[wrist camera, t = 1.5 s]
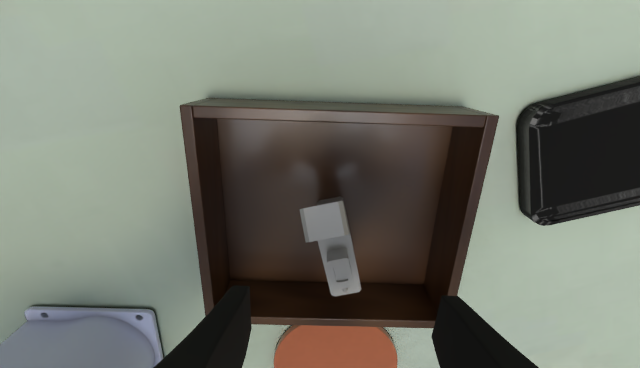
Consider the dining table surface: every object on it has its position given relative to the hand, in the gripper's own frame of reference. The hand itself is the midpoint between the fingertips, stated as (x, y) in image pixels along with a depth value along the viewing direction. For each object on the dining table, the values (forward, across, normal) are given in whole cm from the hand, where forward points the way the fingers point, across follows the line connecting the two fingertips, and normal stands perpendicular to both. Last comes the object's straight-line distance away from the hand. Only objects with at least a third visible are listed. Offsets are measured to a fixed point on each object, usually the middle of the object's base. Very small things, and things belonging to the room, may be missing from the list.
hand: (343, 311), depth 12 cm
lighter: (+9, 0, 0) cm, 9 cm away
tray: (+10, 0, 0) cm, 10 cm away
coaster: (+9, -1, +14) cm, 17 cm away
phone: (+10, -19, -5) cm, 22 cm away
